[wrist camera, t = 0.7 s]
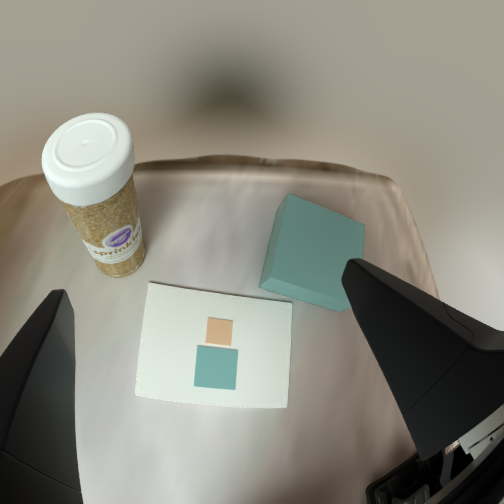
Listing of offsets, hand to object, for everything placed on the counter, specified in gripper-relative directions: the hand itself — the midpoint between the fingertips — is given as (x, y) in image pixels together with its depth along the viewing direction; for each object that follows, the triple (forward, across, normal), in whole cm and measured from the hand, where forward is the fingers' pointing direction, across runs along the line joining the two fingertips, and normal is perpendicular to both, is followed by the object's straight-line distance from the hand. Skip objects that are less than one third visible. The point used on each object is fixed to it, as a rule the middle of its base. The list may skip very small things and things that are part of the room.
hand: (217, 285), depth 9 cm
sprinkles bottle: (+14, +5, +9) cm, 18 cm away
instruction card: (+7, -2, +13) cm, 15 cm away
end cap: (-10, -18, +25) cm, 32 cm away
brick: (+12, -12, +10) cm, 20 cm away
